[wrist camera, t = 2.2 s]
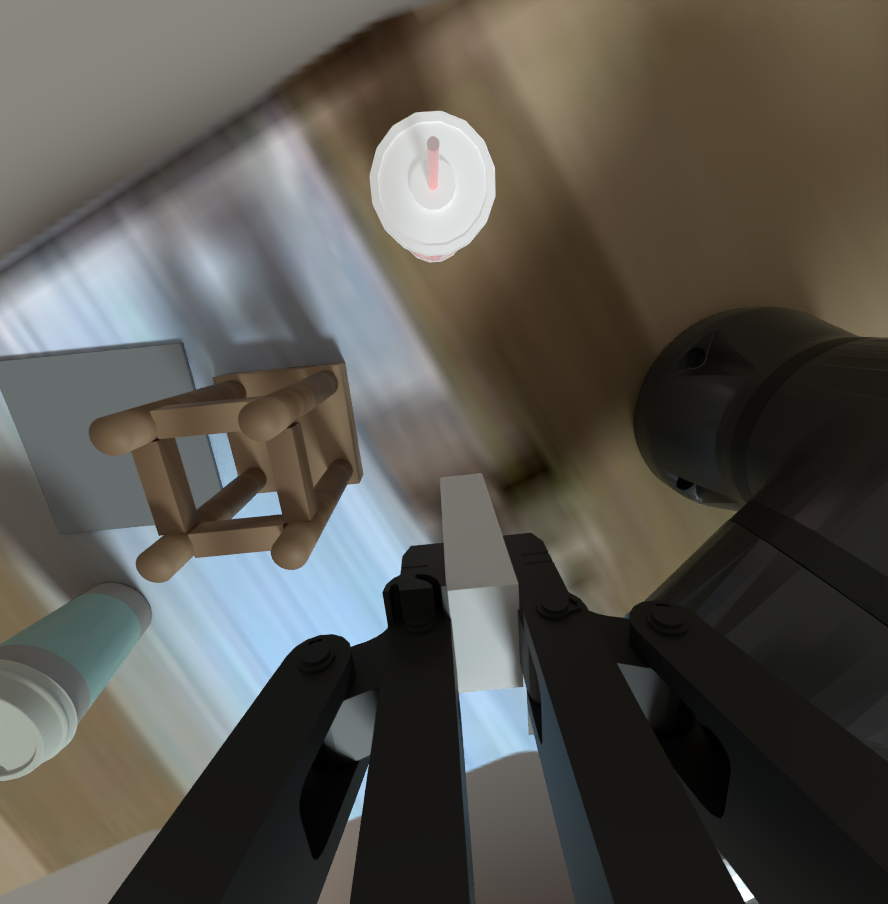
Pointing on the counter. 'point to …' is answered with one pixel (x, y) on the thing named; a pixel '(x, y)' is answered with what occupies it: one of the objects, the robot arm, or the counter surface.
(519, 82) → the counter surface
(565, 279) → the counter surface
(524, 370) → the counter surface
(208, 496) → the mat
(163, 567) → the stool
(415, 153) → the beverage cup
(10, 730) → the coffee cup
